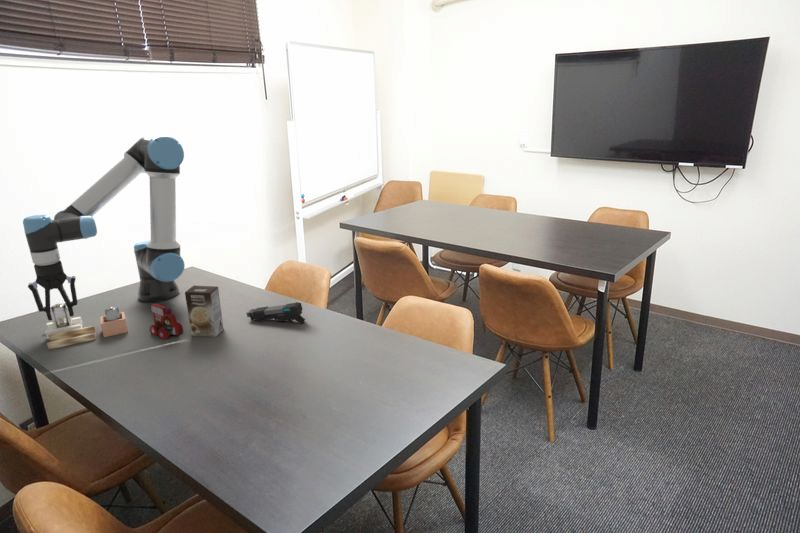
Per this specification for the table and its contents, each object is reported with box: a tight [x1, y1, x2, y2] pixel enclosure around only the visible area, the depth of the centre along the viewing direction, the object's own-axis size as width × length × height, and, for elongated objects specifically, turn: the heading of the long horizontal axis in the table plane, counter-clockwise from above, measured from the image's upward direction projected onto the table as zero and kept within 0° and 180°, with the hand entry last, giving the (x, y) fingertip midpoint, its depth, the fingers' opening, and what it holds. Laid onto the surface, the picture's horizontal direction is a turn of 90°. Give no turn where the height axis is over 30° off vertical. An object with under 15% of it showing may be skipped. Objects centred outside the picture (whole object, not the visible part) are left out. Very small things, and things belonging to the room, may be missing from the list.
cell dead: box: [104, 306, 120, 322], centre depth 167 cm, size 4×4×9 cm
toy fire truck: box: [149, 303, 184, 340], centre depth 164 cm, size 7×12×10 cm, turn 57°
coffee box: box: [184, 285, 224, 338], centre depth 164 cm, size 9×6×16 cm
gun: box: [245, 301, 306, 325], centre depth 174 cm, size 4×20×10 cm, turn 79°
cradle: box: [44, 316, 83, 340], centre depth 168 cm, size 10×9×3 cm
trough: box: [46, 325, 97, 350], centre depth 162 cm, size 13×8×3 cm, turn 121°
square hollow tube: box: [99, 311, 129, 338], centre depth 167 cm, size 7×7×6 cm
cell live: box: [50, 303, 69, 328], centre depth 167 cm, size 4×4×9 cm
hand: (63, 326), depth 168 cm, fingers closed on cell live, 4 cm apart
